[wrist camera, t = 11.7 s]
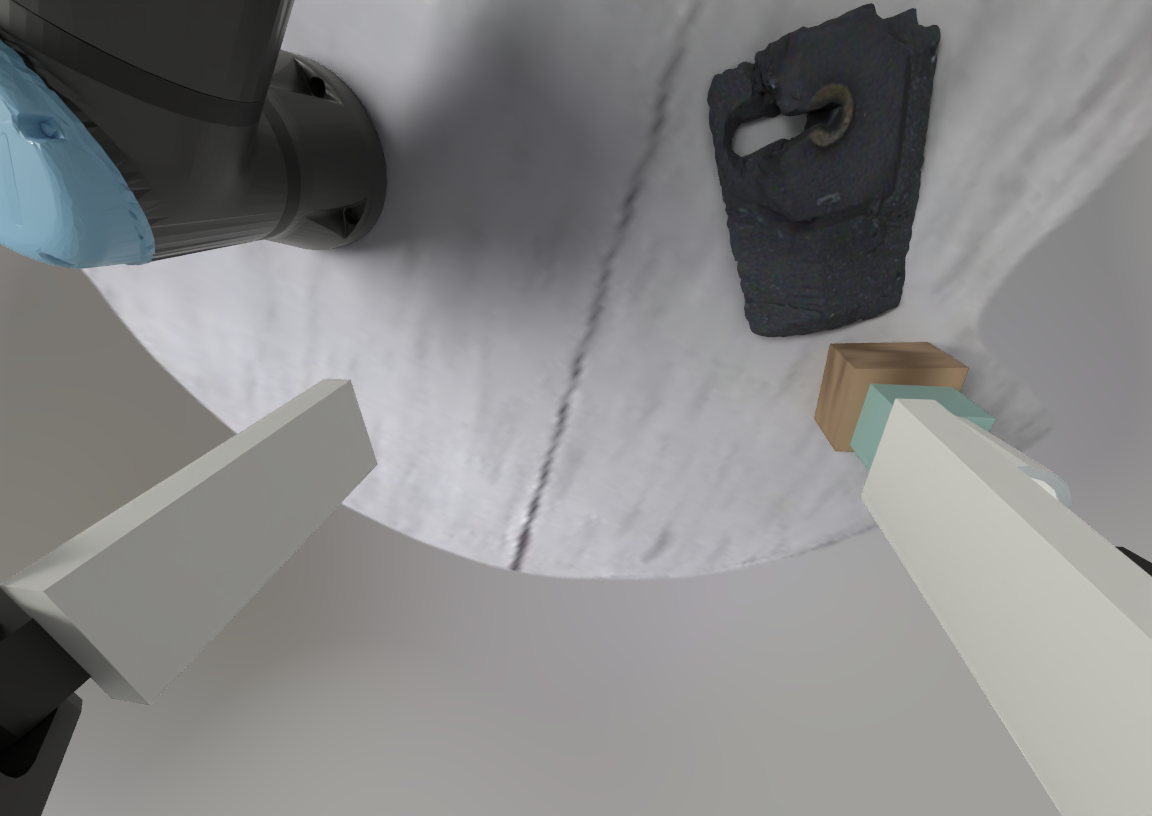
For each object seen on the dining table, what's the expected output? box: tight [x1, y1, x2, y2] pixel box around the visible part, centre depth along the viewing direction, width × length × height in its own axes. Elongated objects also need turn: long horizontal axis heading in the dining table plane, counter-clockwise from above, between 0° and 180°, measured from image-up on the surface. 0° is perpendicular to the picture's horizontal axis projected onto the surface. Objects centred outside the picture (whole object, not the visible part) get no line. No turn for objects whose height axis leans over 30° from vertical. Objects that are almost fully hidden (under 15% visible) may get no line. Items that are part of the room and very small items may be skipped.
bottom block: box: [814, 342, 969, 452], centre depth 38 cm, size 8×8×6 cm
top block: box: [850, 384, 996, 471], centre depth 34 cm, size 6×6×5 cm
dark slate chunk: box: [707, 3, 940, 337], centre depth 33 cm, size 15×22×5 cm
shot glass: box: [954, 415, 1072, 509], centre depth 29 cm, size 7×7×7 cm
